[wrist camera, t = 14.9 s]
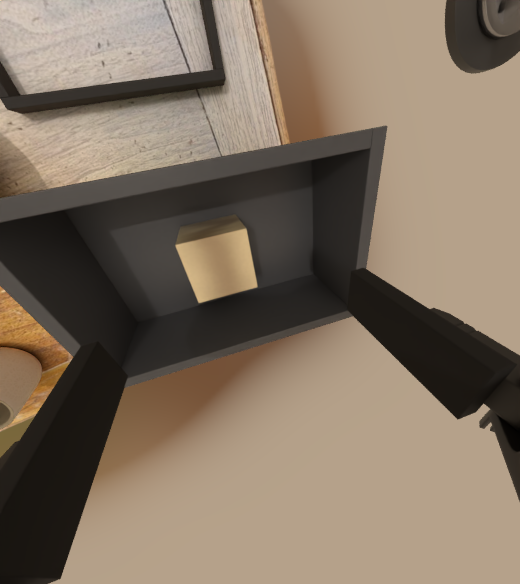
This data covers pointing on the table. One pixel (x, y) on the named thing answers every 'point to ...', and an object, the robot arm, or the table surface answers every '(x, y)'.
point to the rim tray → (12, 100)
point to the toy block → (216, 257)
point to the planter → (16, 381)
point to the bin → (166, 261)
